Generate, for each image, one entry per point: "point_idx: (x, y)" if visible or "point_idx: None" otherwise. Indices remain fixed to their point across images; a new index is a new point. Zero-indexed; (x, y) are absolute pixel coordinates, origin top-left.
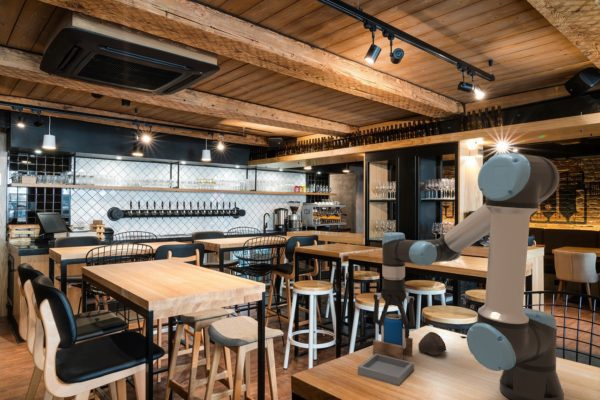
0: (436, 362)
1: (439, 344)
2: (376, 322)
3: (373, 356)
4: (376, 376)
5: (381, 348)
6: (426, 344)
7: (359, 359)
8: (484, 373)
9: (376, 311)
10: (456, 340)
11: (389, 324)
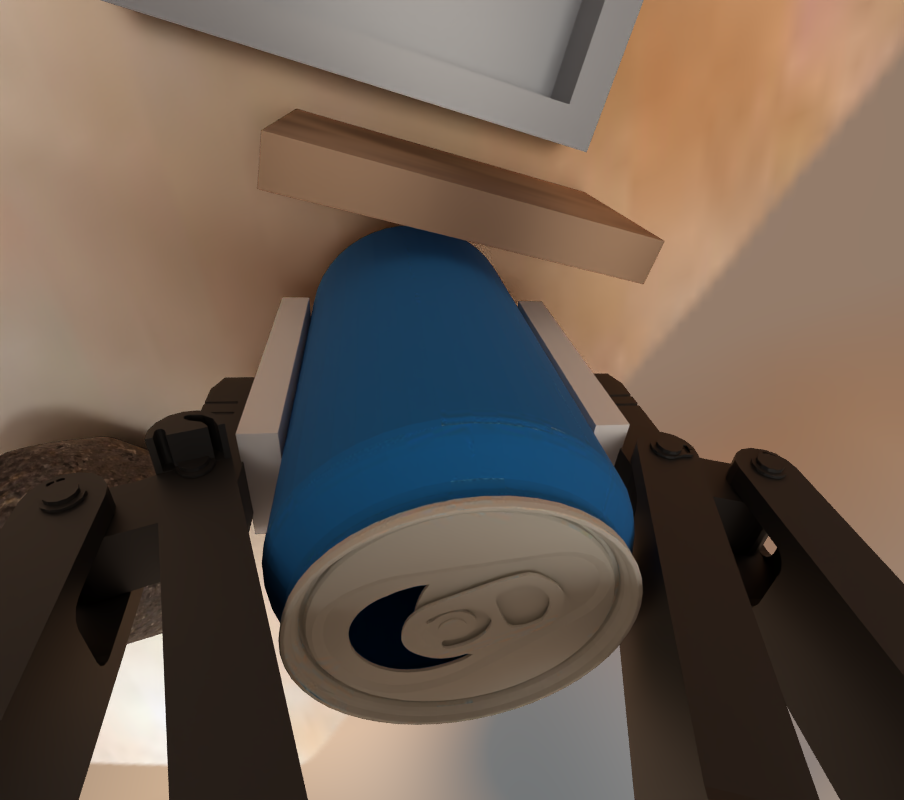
0: (27, 332)
1: None
2: (720, 472)
3: (610, 29)
4: None
5: (537, 195)
6: None
7: (710, 115)
8: None
9: (890, 633)
10: None
11: (515, 393)
